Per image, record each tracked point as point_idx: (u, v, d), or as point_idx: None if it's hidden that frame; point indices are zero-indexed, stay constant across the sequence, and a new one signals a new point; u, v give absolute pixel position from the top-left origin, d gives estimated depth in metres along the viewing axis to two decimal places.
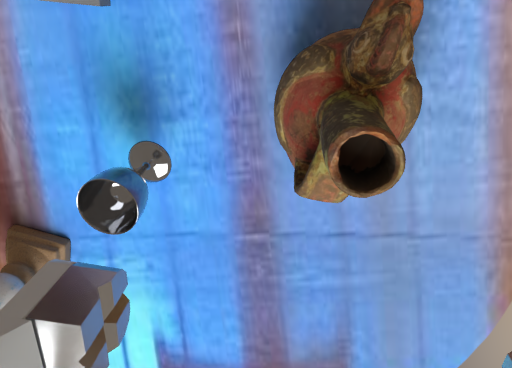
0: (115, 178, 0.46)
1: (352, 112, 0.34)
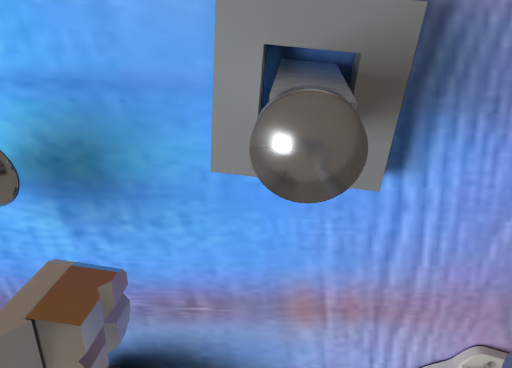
0: None
1: None
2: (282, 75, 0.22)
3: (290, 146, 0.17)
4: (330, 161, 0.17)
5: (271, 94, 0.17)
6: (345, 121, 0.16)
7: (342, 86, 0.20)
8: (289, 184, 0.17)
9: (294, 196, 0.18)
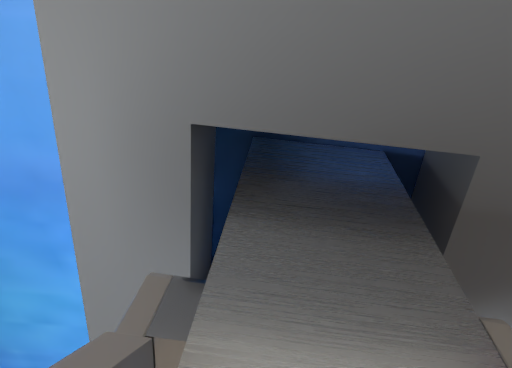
0: None
1: None
2: (226, 297, 0.05)
3: None
4: None
5: None
6: None
7: None
8: None
9: None
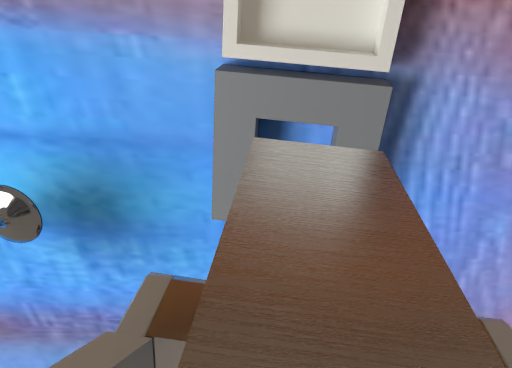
0: None
1: None
2: (226, 297, 0.05)
3: None
4: None
5: None
6: None
7: None
8: None
9: None
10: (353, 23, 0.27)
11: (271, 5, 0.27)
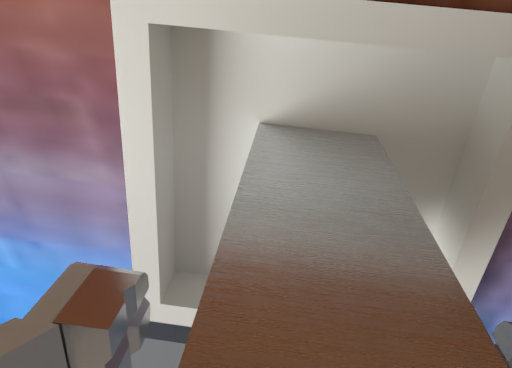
0: None
1: None
2: (241, 239, 0.07)
3: None
4: None
5: None
6: None
7: (462, 328, 0.05)
8: None
9: None
10: None
11: None
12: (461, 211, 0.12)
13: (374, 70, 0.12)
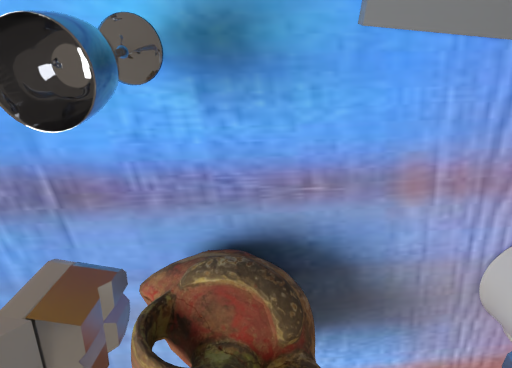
0: (100, 93, 0.26)
1: None
2: None
3: None
4: None
5: None
6: None
7: None
8: None
9: None
10: None
11: None
12: None
13: None
